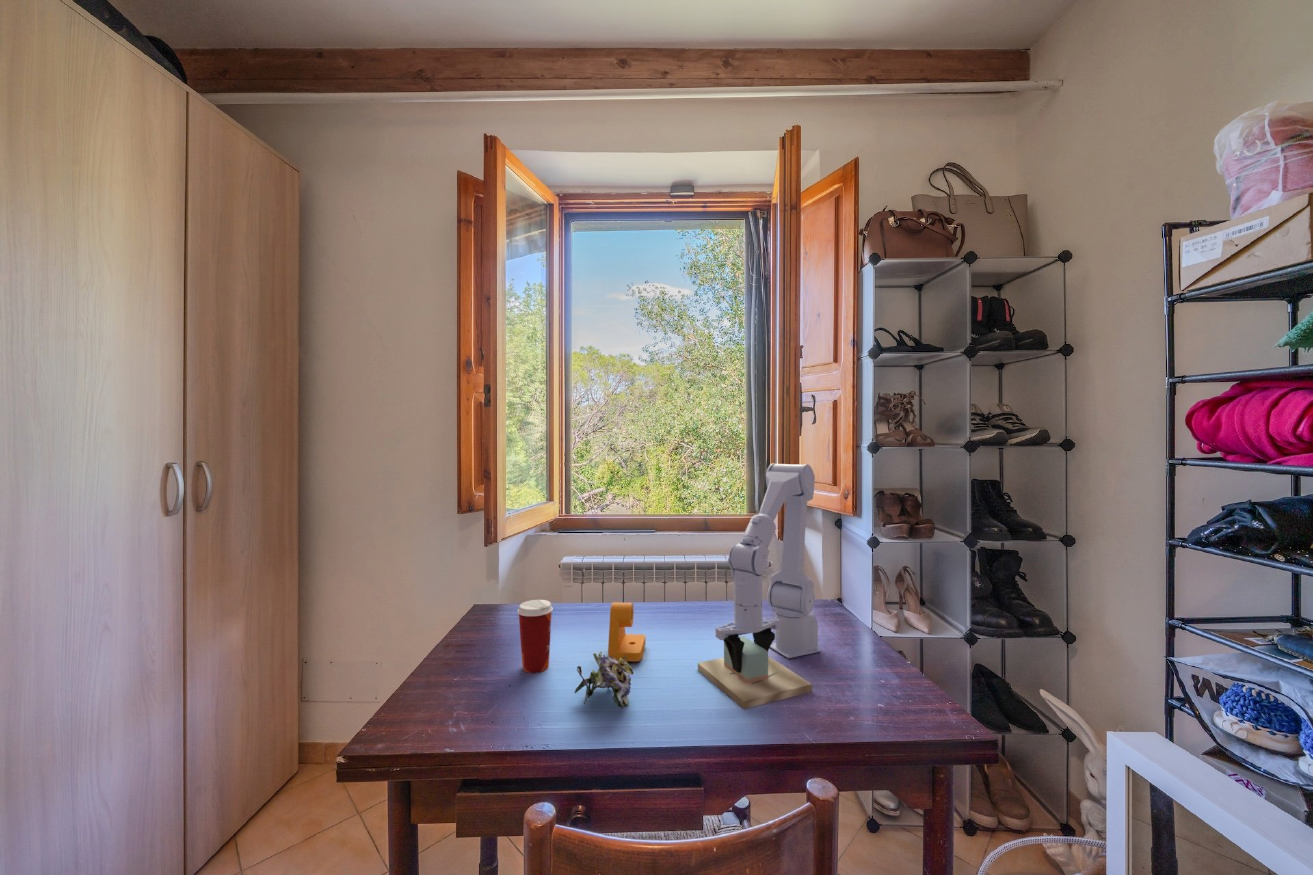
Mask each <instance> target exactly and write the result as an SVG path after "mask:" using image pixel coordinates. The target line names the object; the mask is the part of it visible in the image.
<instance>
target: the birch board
mask: <svg viewBox="0 0 1313 875" xmlns="http://www.w3.org/2000/svg"><path fill="white" fill-rule="evenodd" d="M697 671H699V672H700V673H701V674H702V675H703V676H705V677H706V678H707V679H708V680H709V681H710V682H711V683H712V684H714V685H715V686H716V687H717V689H720V691H722V692H723V693H724V694H725V695H726V696H728V697H729V698H730V699H731V700H732V701H733V702H735V703H736V704H737V705H738V706H739V707H740V708H741V709H742V710H745V709H751V708H754V707H757V706H761V705H765V704H770V703H773V702H778V701H781V700H785V699H789V698H793V697H796V696H801V695H805V694H809V693H812V692H813V684H812V683H811V682H810V681H808V680H807V679H804V678H803V677H801V675H798V674H797V673H795V672H794V671H792V670H791V669H789V668H788V667H786V666H784V664H782V663H780V662H778V661H777V660H775V659H774V658H773V657H771V656H769V655H768V679H764V680H760V681H755V682H751V683H746V682H745V681H744V680H743V679H741V678H740V677H739V676H737V675H736V674H735V673H734V672H732V671H731V670H730V669H728V668H727V667H726V666H724V657H719V658H715V659H711V660H706V661H701V662H698V663H697Z"/></svg>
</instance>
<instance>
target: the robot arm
mask: <svg viewBox="0 0 1313 875" xmlns="http://www.w3.org/2000/svg"><path fill="white" fill-rule="evenodd" d="M815 480H816V479H815V473H814V470H813V468H812V467H811V465H810V464H808V463H807V464H805V463H804V464H793V463H791V464H789V463H788V464H787V463H776V462H773V463H770V464H769V466H768V467H767V468H766V472H765V483H766V484H765V485H766V488H767V489H766V492H765V494H764V497H763V500H762V503H761V506H760V509H759V512H758V514H755V515H752V517H750V520H749V523H747V526H746V528H745V531H744V532H743V534H742V538H741V540H740V541H739V543H737V544H735V545H733V546H732V547H731V549H730V550H729V556H728V558H727V562H728V567H729V568H730V573H731V576H730V577H731V579H732V580H733V603H734V604H733V607H734V608H733V609H734V610H733V611H734V614H733V616H734V618H733V619H734V621H731V622H729V623H726V624H724V625H721V626H717V627H715V638H717V639H718V640H720V641H722V642H723V644H724V643H725V645H726V647H727V649H728V652H729V655H730V658H731V662H732V666H733V669H734V670H735V671H736V672H738V673H740V672H741V668H742V652H743V647H744V644H745V643H744V642H743V641H741V640H740V637H741V636H744V635H747V634H752V638H753V642H754V643H756V644H757V645H759V646H760V647H762V648H763V649H765V650H767V651H768V652H769V650H770V649H772V650H773V651H774V652H777V653H778V654H780V655H782V656H783V657H785V658H787V659H793V658H796V657H801V656H805V655H806V656H807V655H811V654H815V653H819V652H821V649H820V648H819V644H818V641H819V640H818V639H819V635H818V633H819V631H818V630H819V628H818V627H819V624H818V620H817V617H816V615H815V614H814V612H813V610H814V607H815V604H816V603H815V602H816V595H815V585H814V584H815V583H814V582H815V581H813V580H812V579H811V578H810V577H809V576H808V575H807V574H806V572H804V571H803V570H804V568H803V567H804V554H805V541H806V525H807V514H808V513H807V512H808V511H807V510H808V502H809V501H813V499H814V493H815ZM783 504H785V509H784V510H785V511H784V524H783V525H784V526H783V539H782V554H781V562H780V563H781V567H780V569H779V571H777V572H776V573H773V574H772V575H771V576H770V583H769V587H768V588H767V589H768V590H767V595H766V598H767V602H768V605H769V606H770V607H771V608H772V612H774V613H775V617H763V574H764V573H765V571H766V569H767V567H768V562H769V554H770V553H769V552H770V550H769V547H770V545H771V541H772V540H773V537H774V535H775V532H776V529H777V525H776V523H775V519H776V517H777V516H778V514H779V513H780V510H781V508H782V507H783ZM772 630H775V632H774V631H772Z"/></svg>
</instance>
